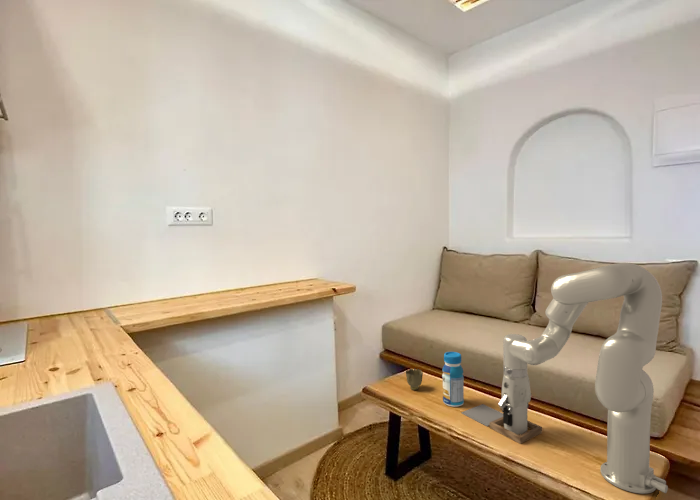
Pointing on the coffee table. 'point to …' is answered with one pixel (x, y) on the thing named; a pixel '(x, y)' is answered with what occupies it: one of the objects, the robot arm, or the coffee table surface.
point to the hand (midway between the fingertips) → (515, 420)
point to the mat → (483, 414)
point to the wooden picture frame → (520, 439)
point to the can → (518, 419)
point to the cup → (414, 378)
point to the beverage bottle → (453, 380)
